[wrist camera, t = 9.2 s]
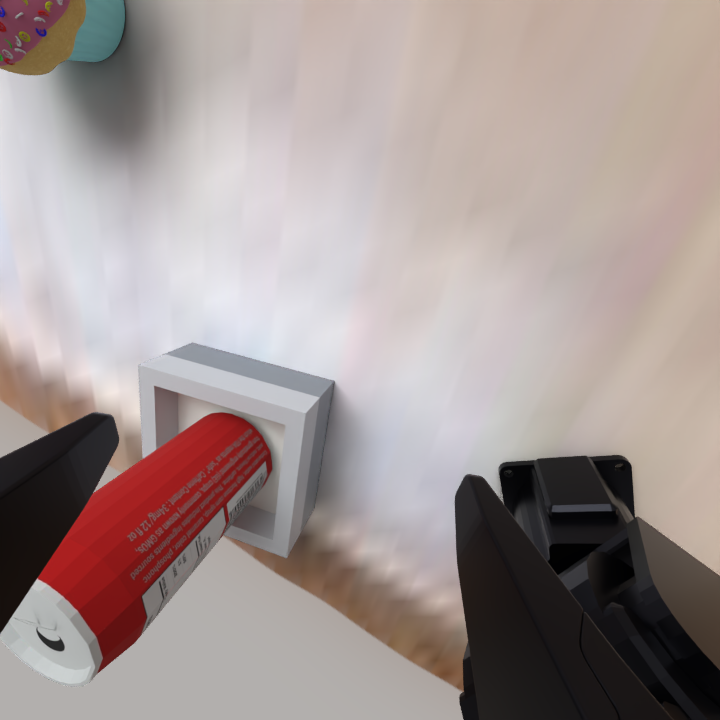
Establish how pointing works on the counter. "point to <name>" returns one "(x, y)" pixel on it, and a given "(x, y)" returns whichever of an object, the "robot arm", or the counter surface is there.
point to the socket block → (260, 408)
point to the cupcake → (57, 32)
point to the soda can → (137, 548)
